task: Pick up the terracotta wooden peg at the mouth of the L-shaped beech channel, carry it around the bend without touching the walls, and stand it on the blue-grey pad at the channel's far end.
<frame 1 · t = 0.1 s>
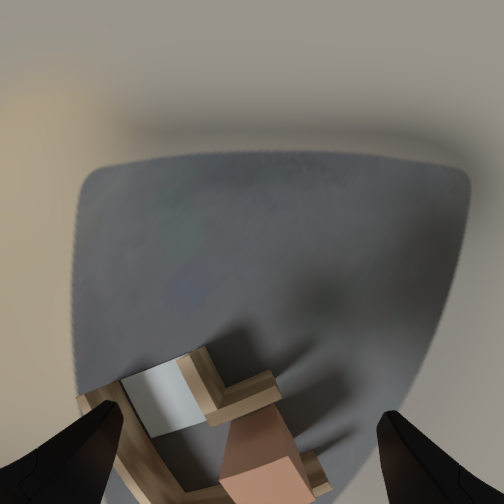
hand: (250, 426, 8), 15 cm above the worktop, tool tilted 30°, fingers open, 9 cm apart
peg: (262, 430, 21), on the worktop
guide: (210, 428, 21), on the worktop
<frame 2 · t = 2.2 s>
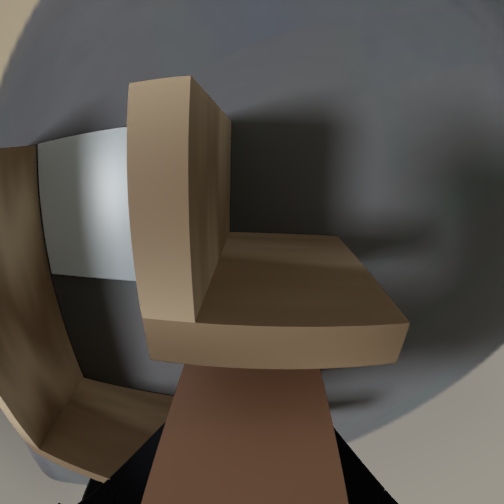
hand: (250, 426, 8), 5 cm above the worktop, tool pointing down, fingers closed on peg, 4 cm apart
peg: (253, 344, 12), on the worktop, touching gripper
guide: (159, 299, 12), on the worktop
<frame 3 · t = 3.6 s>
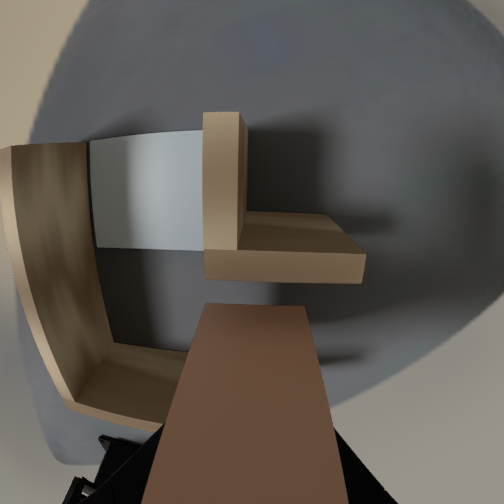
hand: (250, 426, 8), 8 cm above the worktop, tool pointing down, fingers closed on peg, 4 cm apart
peg: (253, 344, 12), point 4 cm above the worktop, touching gripper
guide: (189, 265, 15), on the worktop
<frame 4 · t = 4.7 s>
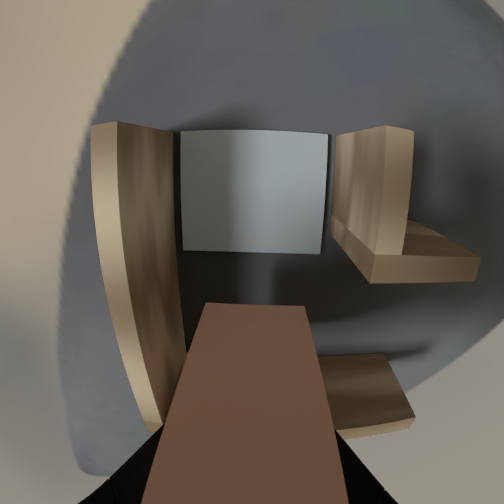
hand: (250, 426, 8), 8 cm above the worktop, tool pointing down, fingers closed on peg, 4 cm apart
peg: (253, 343, 12), point 4 cm above the worktop, touching gripper
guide: (289, 268, 15), on the worktop
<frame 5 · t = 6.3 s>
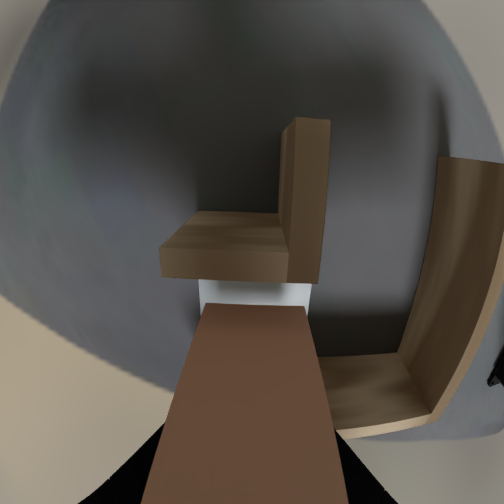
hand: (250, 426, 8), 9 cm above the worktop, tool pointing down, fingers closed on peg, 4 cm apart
peg: (253, 344, 12), point 4 cm above the worktop, touching gripper
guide: (329, 270, 15), on the worktop
when the fingers open (6 cm above the worktop, at t = 7.4 s): peg drops 1 cm, resting on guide.
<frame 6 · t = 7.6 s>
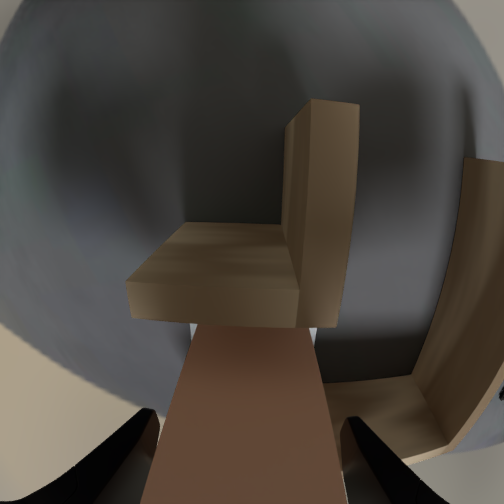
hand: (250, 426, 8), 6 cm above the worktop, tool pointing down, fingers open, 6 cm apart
peg: (253, 330, 13), resting on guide
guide: (341, 291, 13), on the worktop, touching peg
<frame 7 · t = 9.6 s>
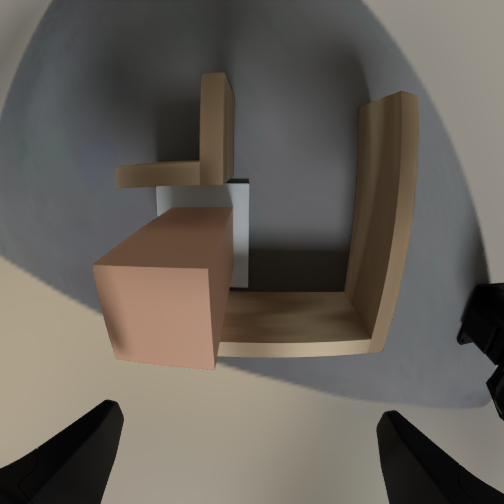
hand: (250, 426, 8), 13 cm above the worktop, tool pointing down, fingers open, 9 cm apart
peg: (202, 237, 19), resting on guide
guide: (264, 206, 18), on the worktop, touching peg
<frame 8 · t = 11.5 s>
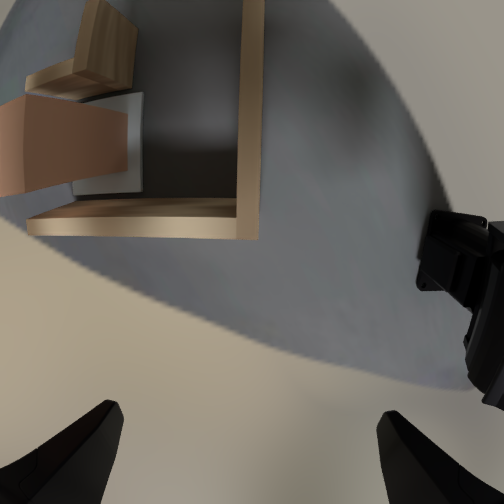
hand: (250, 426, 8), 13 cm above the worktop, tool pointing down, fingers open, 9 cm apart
peg: (103, 145, 17), resting on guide
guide: (156, 111, 17), on the worktop, touching peg
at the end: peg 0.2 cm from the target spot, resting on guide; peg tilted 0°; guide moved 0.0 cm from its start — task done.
